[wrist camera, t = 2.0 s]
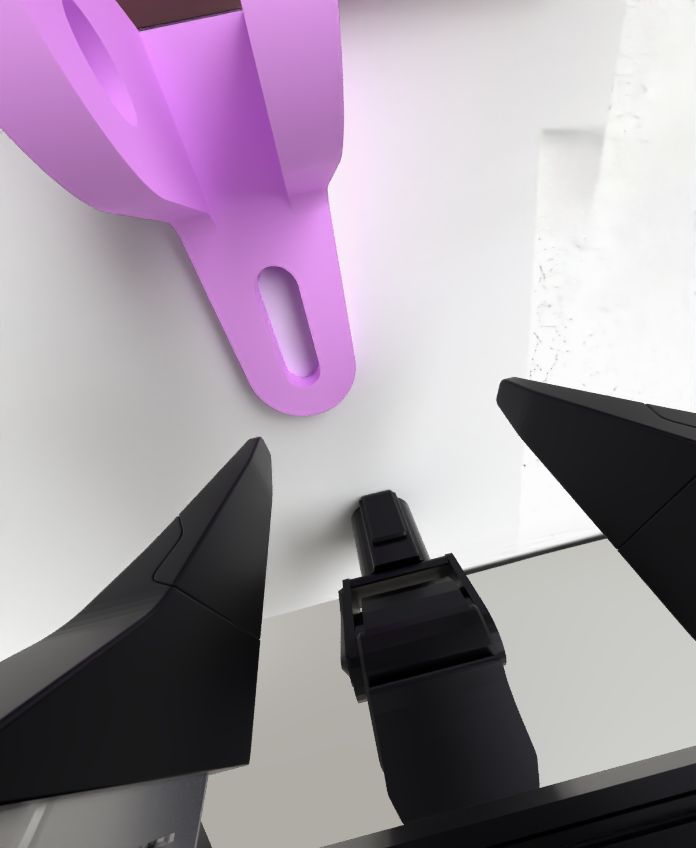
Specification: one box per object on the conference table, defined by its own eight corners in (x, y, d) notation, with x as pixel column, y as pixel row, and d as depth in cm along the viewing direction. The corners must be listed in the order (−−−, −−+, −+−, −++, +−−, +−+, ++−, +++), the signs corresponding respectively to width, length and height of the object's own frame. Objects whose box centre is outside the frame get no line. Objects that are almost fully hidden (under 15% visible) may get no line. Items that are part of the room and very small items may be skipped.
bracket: (117, 71, 8) (-380, -397, 2) (295, 34, 8) (284, -505, 2) (271, 412, 15) (256, 507, 10) (357, 391, 16) (390, 474, 10)
